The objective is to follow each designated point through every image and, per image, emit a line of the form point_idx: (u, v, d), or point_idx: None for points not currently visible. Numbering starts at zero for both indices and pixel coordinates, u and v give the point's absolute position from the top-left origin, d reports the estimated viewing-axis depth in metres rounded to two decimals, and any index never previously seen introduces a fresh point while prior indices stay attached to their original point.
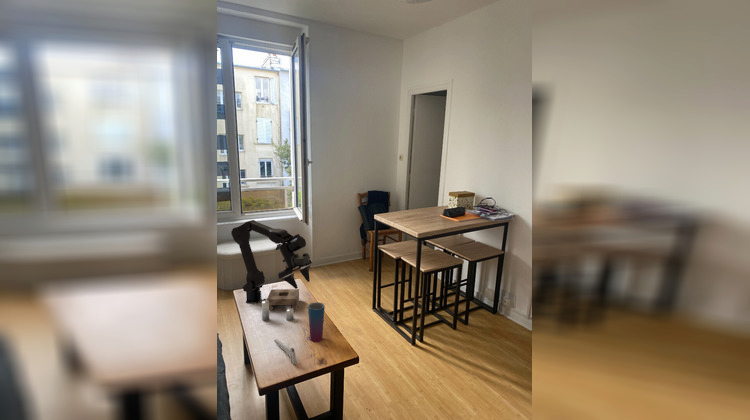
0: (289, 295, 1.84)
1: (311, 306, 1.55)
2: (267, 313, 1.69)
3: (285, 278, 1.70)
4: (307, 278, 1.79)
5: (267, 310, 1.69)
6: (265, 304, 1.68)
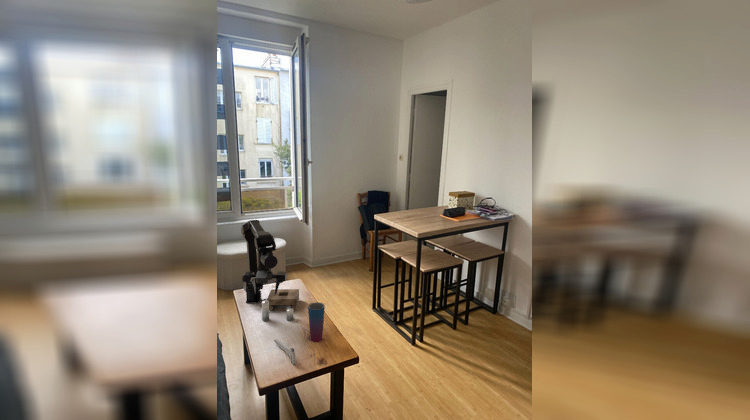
0: (289, 295, 1.84)
1: (311, 306, 1.55)
2: (267, 313, 1.69)
3: None
4: (275, 290, 1.69)
5: (267, 310, 1.69)
6: (265, 304, 1.68)
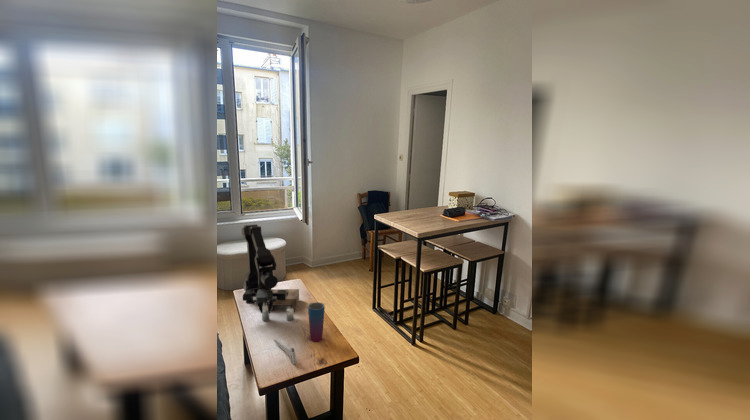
0: (289, 295, 1.84)
1: (311, 306, 1.55)
2: (267, 313, 1.69)
3: None
4: (269, 309, 1.70)
5: (267, 310, 1.69)
6: (265, 304, 1.68)
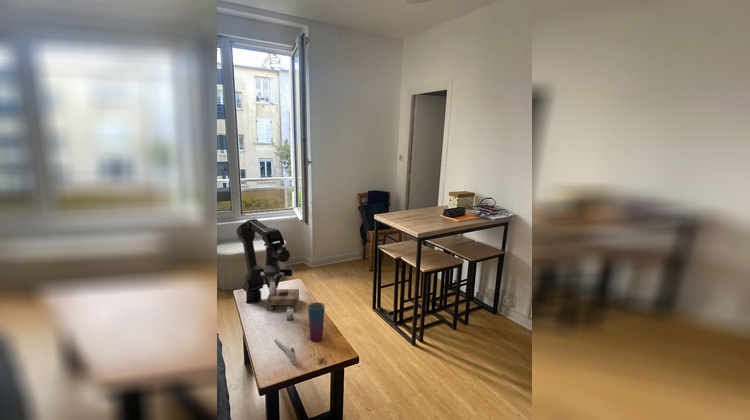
0: (289, 295, 1.84)
1: (311, 306, 1.55)
2: (274, 288, 1.74)
3: None
4: (276, 285, 1.75)
5: (274, 286, 1.74)
6: (272, 280, 1.73)
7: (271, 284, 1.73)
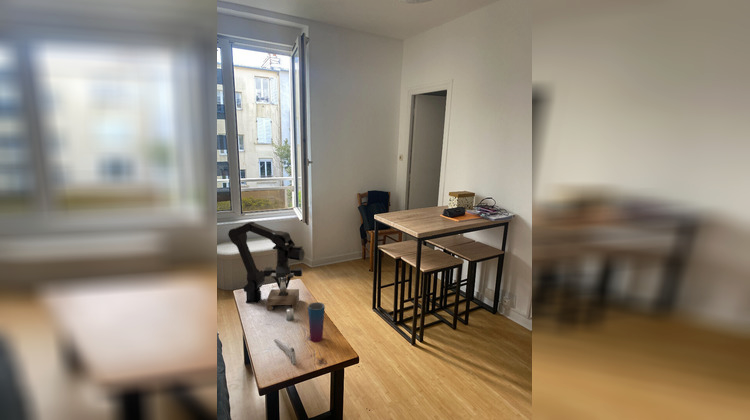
0: (289, 295, 1.84)
1: (311, 306, 1.55)
2: (285, 288, 1.84)
3: None
4: None
5: (285, 286, 1.83)
6: (283, 280, 1.82)
7: (282, 284, 1.83)
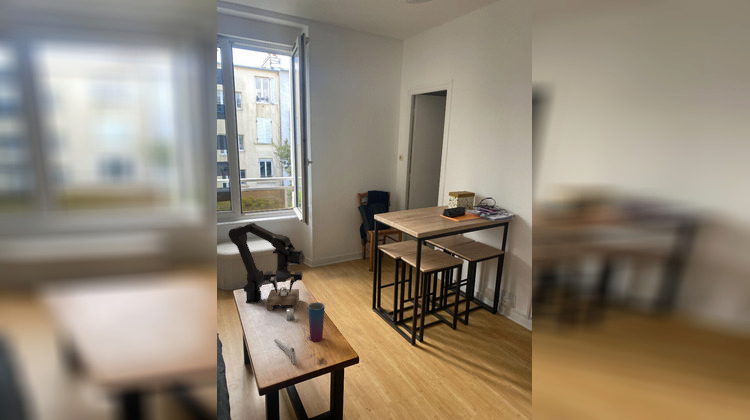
0: (289, 295, 1.84)
1: (311, 306, 1.55)
2: None
3: None
4: (289, 289, 1.85)
5: None
6: (283, 291, 1.83)
7: (282, 295, 1.84)
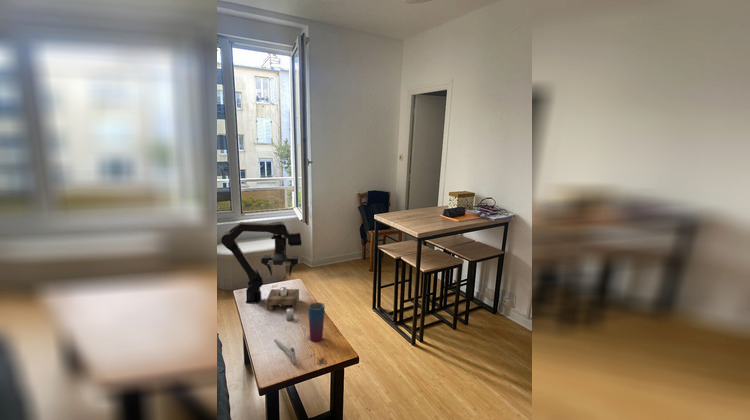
0: (289, 295, 1.84)
1: (311, 306, 1.55)
2: None
3: None
4: (289, 272, 1.92)
5: None
6: (283, 291, 1.83)
7: (282, 295, 1.84)
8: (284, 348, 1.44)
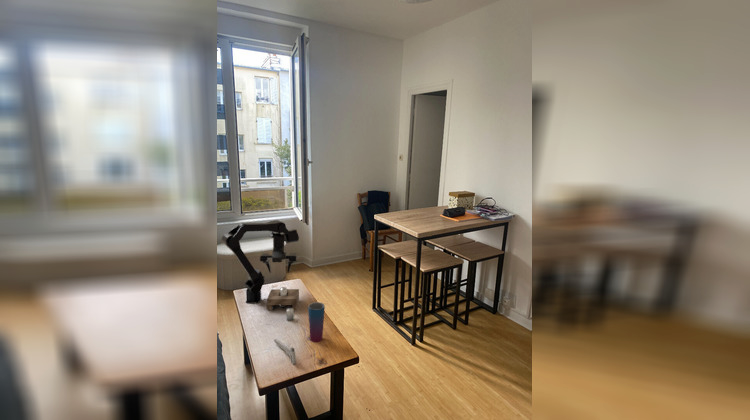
0: (289, 295, 1.84)
1: (311, 306, 1.55)
2: None
3: None
4: None
5: None
6: (283, 291, 1.83)
7: (282, 295, 1.84)
8: (284, 348, 1.44)
